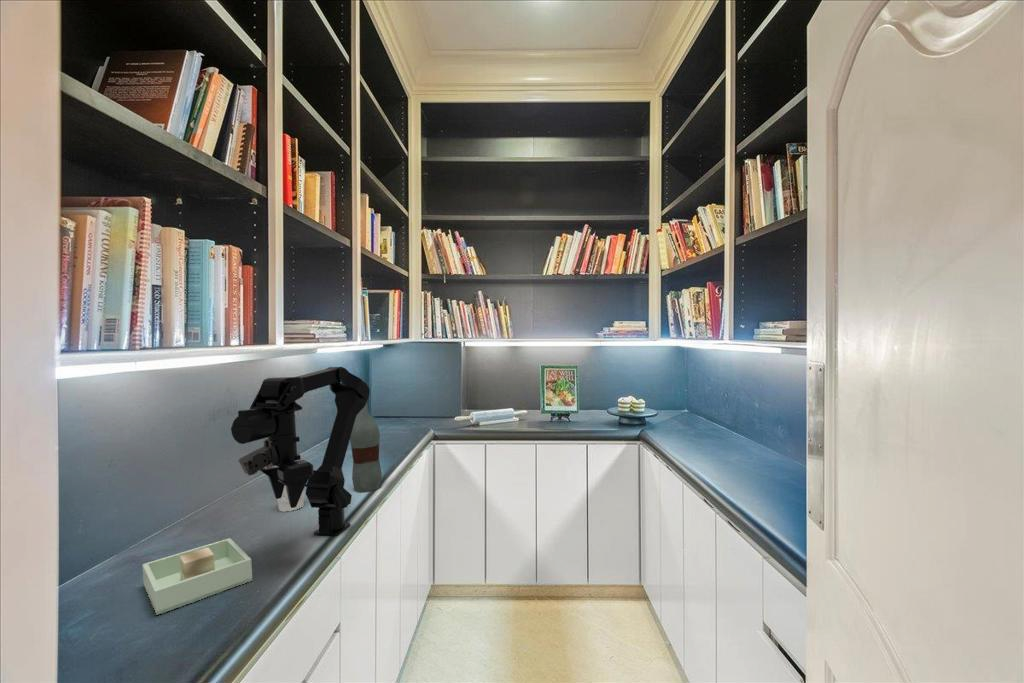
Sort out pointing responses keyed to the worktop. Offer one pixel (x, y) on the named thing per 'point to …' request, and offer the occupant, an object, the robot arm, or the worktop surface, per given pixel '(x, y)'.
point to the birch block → (196, 563)
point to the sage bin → (175, 593)
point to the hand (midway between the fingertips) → (285, 502)
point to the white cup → (284, 502)
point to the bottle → (365, 453)
